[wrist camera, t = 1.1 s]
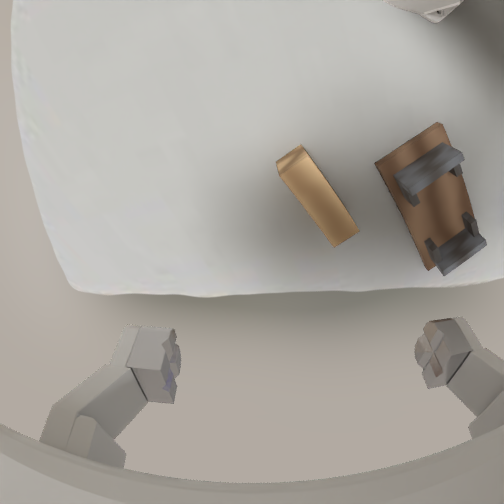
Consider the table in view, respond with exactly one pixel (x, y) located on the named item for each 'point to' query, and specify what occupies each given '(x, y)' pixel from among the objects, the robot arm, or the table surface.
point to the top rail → (316, 195)
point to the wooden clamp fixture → (433, 198)
